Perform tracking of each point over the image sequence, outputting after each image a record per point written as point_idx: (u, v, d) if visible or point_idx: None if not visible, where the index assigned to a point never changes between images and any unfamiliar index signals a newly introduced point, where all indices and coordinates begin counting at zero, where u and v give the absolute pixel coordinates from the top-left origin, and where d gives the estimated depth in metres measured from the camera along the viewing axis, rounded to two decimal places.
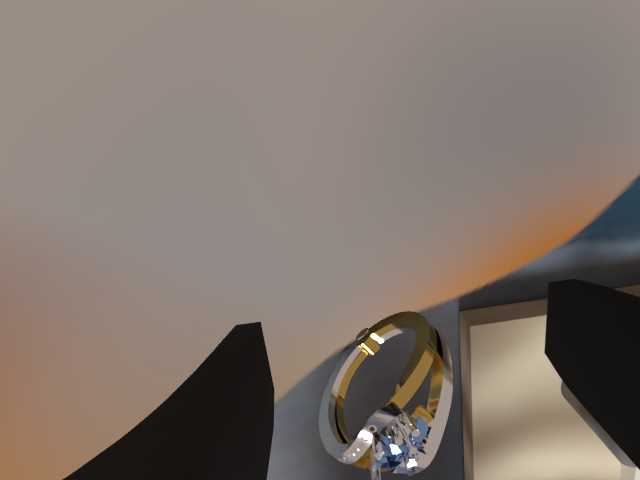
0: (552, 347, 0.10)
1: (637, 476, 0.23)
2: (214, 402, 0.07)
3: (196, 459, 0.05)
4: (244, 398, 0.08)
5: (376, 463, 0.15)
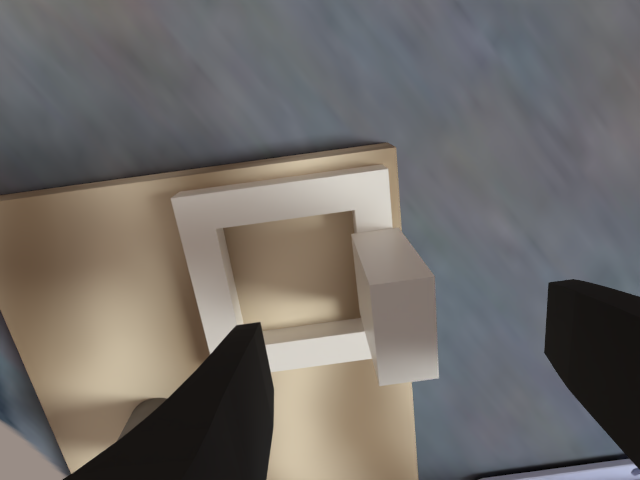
0: (552, 347, 0.10)
1: (292, 366, 0.16)
2: (214, 402, 0.07)
3: (196, 459, 0.05)
4: (244, 398, 0.08)
5: None
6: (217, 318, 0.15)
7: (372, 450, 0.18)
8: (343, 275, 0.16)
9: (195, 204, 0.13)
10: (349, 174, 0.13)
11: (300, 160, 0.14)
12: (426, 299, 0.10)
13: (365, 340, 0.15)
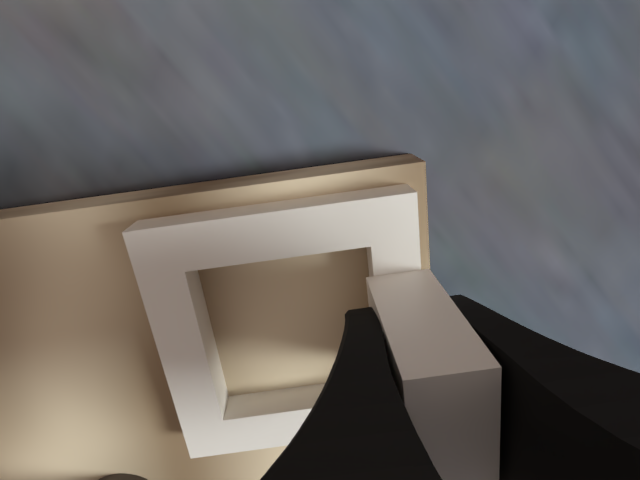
0: None
1: (287, 441, 0.12)
2: (386, 378, 0.07)
3: (411, 429, 0.05)
4: None
5: None
6: (190, 384, 0.11)
7: None
8: None
9: (156, 240, 0.10)
10: (364, 199, 0.10)
11: (298, 178, 0.11)
12: (487, 399, 0.07)
13: None
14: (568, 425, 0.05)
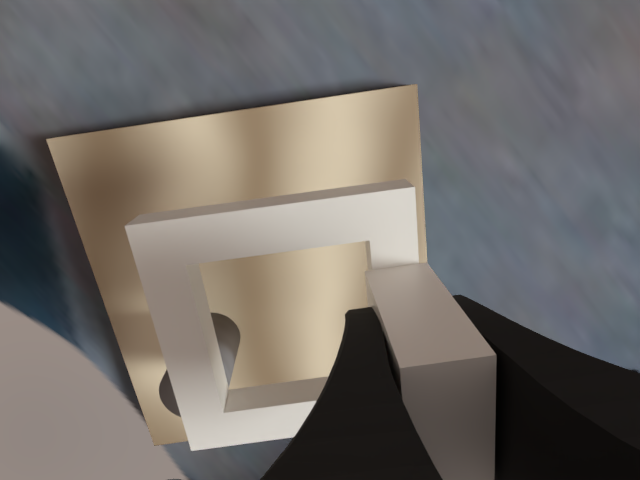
0: None
1: (287, 434, 0.12)
2: (387, 378, 0.07)
3: (411, 429, 0.05)
4: None
5: None
6: (190, 377, 0.11)
7: None
8: None
9: (157, 234, 0.10)
10: (363, 194, 0.10)
11: (336, 96, 0.17)
12: (482, 387, 0.07)
13: None
14: (567, 425, 0.05)
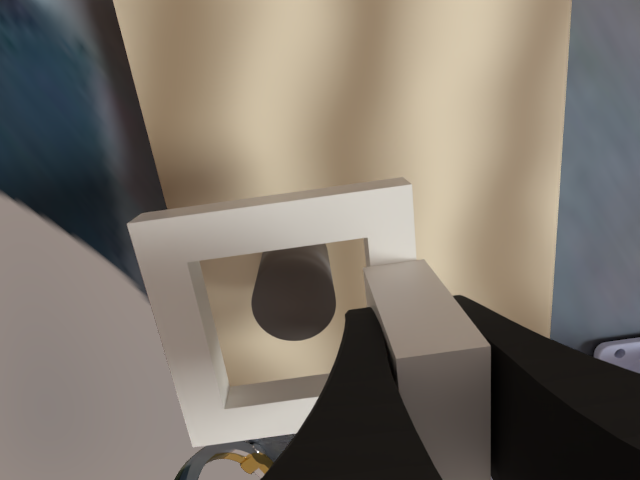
0: None
1: (287, 430, 0.12)
2: (387, 378, 0.07)
3: (411, 429, 0.05)
4: None
5: None
6: (191, 373, 0.12)
7: (507, 293, 0.18)
8: (503, 79, 0.15)
9: (159, 231, 0.10)
10: (361, 191, 0.10)
11: None
12: (477, 377, 0.07)
13: None
14: (568, 425, 0.05)
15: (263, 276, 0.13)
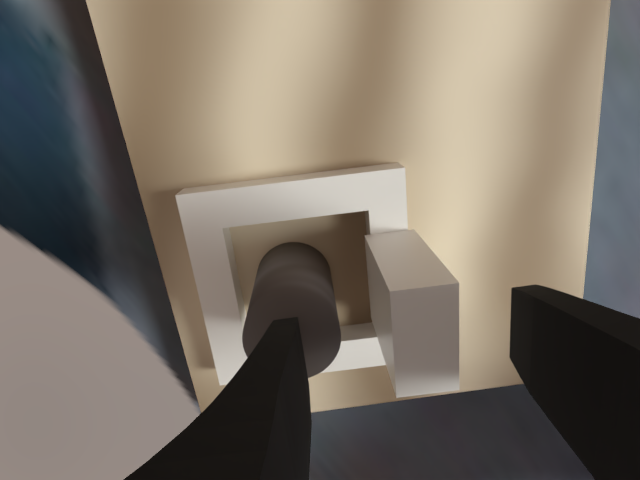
0: (516, 352, 0.10)
1: None
2: (271, 394, 0.07)
3: (267, 449, 0.05)
4: (292, 391, 0.08)
5: None
6: (222, 321, 0.14)
7: None
8: (530, 76, 0.13)
9: (201, 202, 0.13)
10: (364, 172, 0.13)
11: None
12: (449, 307, 0.10)
13: (376, 346, 0.15)
14: None
15: (256, 307, 0.11)
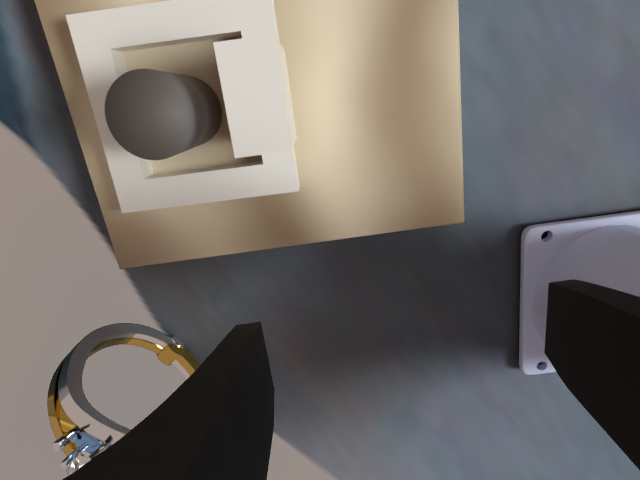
0: (552, 347, 0.10)
1: (193, 200, 0.16)
2: (214, 402, 0.07)
3: (196, 458, 0.05)
4: (244, 398, 0.08)
5: None
6: (118, 146, 0.16)
7: (414, 156, 0.17)
8: None
9: (88, 22, 0.14)
10: None
11: None
12: (269, 60, 0.11)
13: (262, 174, 0.16)
14: None
15: (114, 83, 0.12)
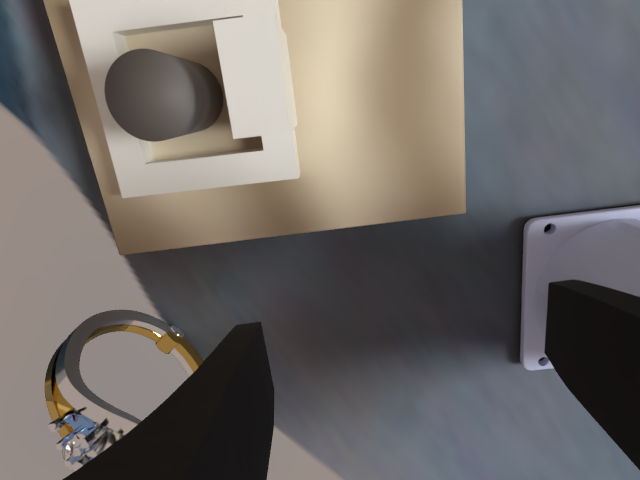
0: (552, 347, 0.10)
1: (193, 186, 0.16)
2: (214, 402, 0.07)
3: (196, 459, 0.05)
4: (244, 398, 0.08)
5: None
6: (119, 130, 0.16)
7: (416, 145, 0.17)
8: None
9: (91, 5, 0.14)
10: None
11: None
12: (268, 40, 0.11)
13: (262, 160, 0.16)
14: None
15: (115, 63, 0.12)
